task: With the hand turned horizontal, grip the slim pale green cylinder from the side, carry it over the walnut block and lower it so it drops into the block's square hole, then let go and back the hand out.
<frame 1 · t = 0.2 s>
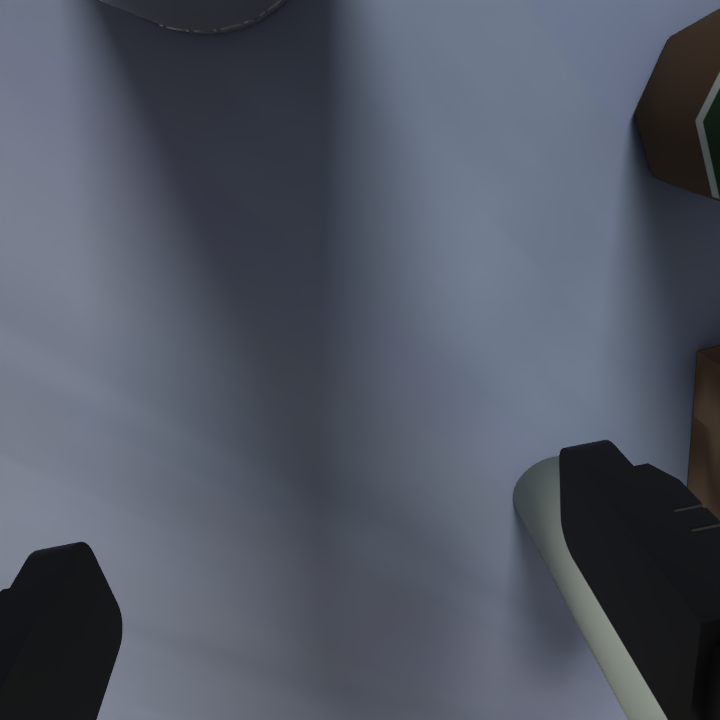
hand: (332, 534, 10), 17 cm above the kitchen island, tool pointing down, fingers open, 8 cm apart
pale green cylinder: (553, 490, 33), on the kitchen island
beer bottle: (712, 102, 25), on the kitchen island
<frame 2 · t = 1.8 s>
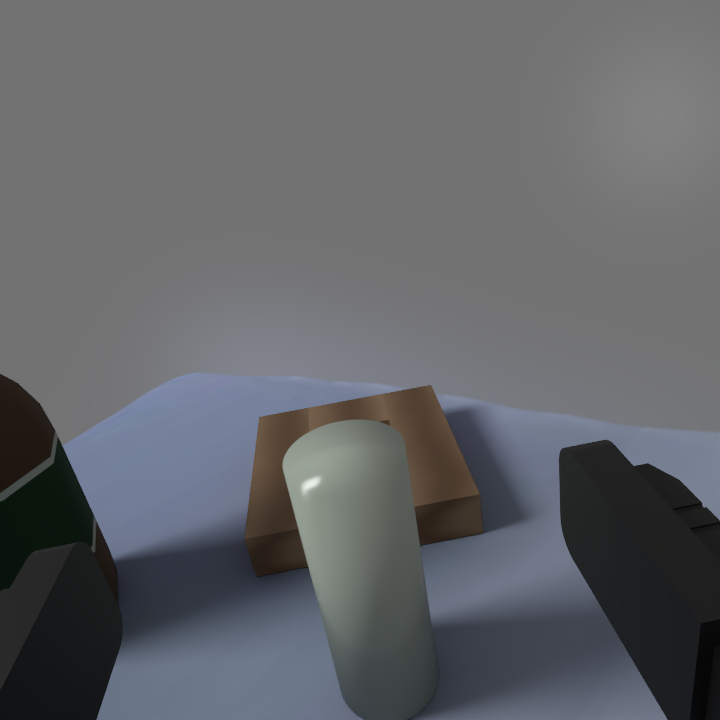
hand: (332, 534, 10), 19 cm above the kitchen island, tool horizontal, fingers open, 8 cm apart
pale green cylinder: (388, 674, 28), on the kitchen island
walnut block: (359, 484, 42), on the kitchen island
beer bottle: (60, 616, 35), on the kitchen island
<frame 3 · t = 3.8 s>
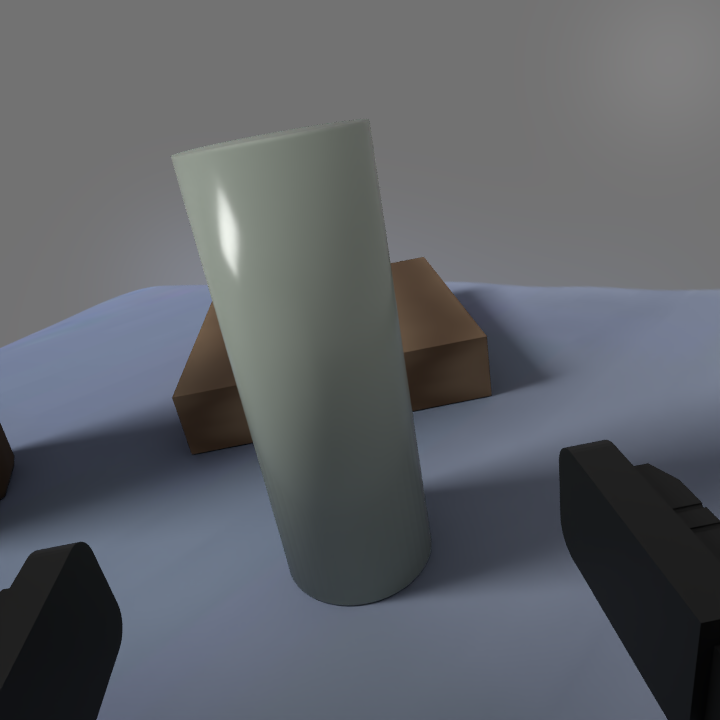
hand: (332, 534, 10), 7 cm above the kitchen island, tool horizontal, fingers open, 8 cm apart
pale green cylinder: (359, 547, 19), on the kitchen island
walnut block: (333, 361, 33), on the kitchen island
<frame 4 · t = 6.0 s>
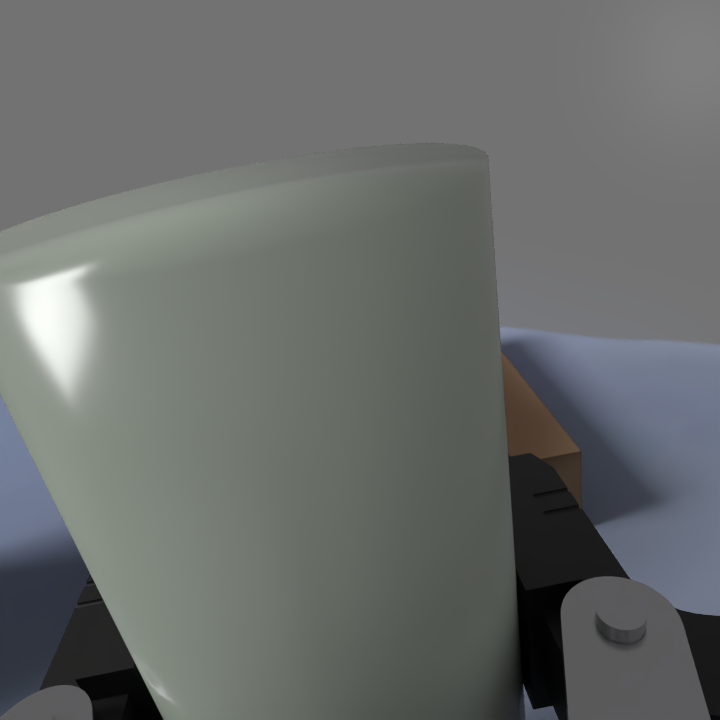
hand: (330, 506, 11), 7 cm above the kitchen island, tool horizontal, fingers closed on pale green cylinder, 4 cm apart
walnut block: (348, 449, 25), on the kitchen island
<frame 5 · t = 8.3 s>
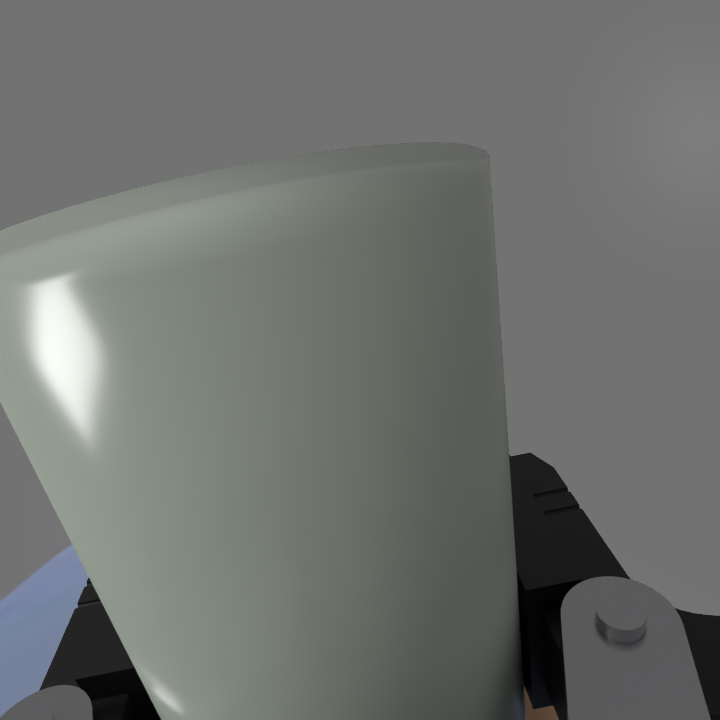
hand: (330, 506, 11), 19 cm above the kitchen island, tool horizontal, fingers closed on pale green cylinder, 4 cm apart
when the fingers open (11 cm above the kitchen island, at t = 10.5 s): pale green cylinder drops 4 cm, resting in walnut block.
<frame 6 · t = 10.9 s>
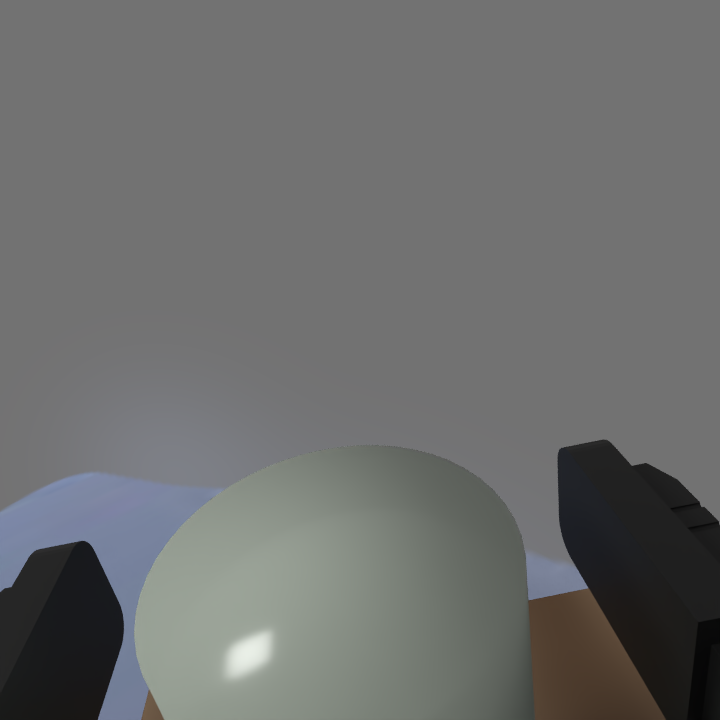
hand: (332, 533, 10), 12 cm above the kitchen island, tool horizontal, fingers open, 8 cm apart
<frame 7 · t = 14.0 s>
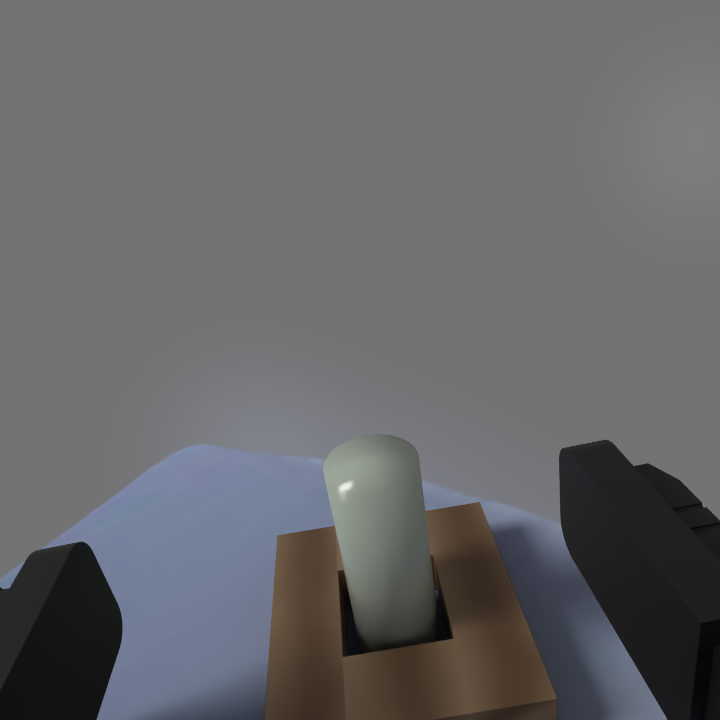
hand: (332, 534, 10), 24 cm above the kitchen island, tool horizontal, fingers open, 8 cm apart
pale green cylinder: (399, 638, 35), resting in walnut block
walnut block: (397, 636, 35), on the kitchen island
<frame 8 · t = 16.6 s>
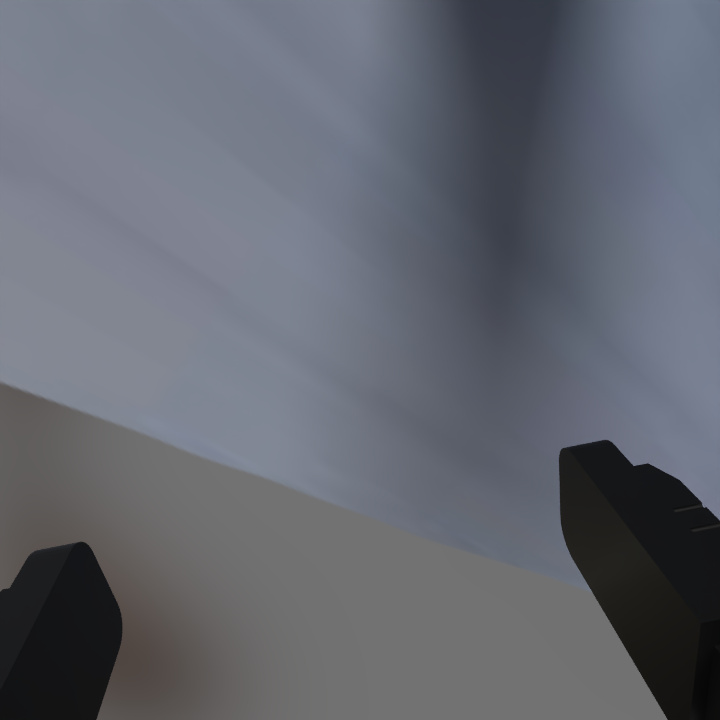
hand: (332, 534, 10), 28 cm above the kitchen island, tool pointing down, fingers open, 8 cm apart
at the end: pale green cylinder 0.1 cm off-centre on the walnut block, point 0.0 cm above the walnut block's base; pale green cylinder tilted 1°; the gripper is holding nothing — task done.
